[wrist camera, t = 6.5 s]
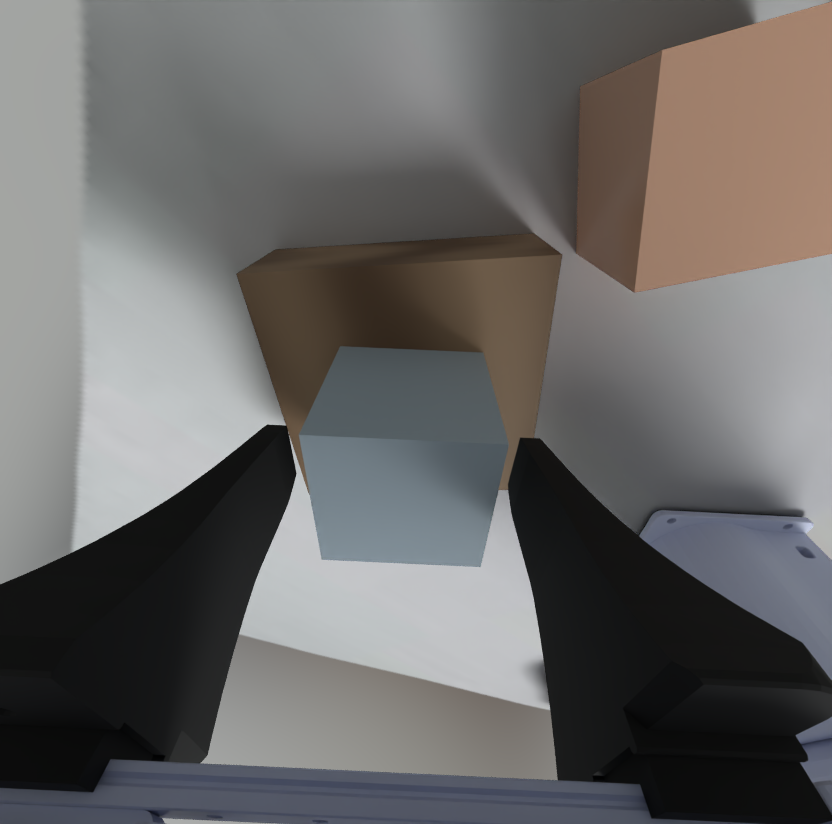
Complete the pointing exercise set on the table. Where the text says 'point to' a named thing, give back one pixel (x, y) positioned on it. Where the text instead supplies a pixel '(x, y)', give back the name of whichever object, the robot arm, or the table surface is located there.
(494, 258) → the walnut slab
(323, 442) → the blue-grey cube
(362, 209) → the table surface
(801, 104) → the terracotta cube
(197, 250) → the table surface
